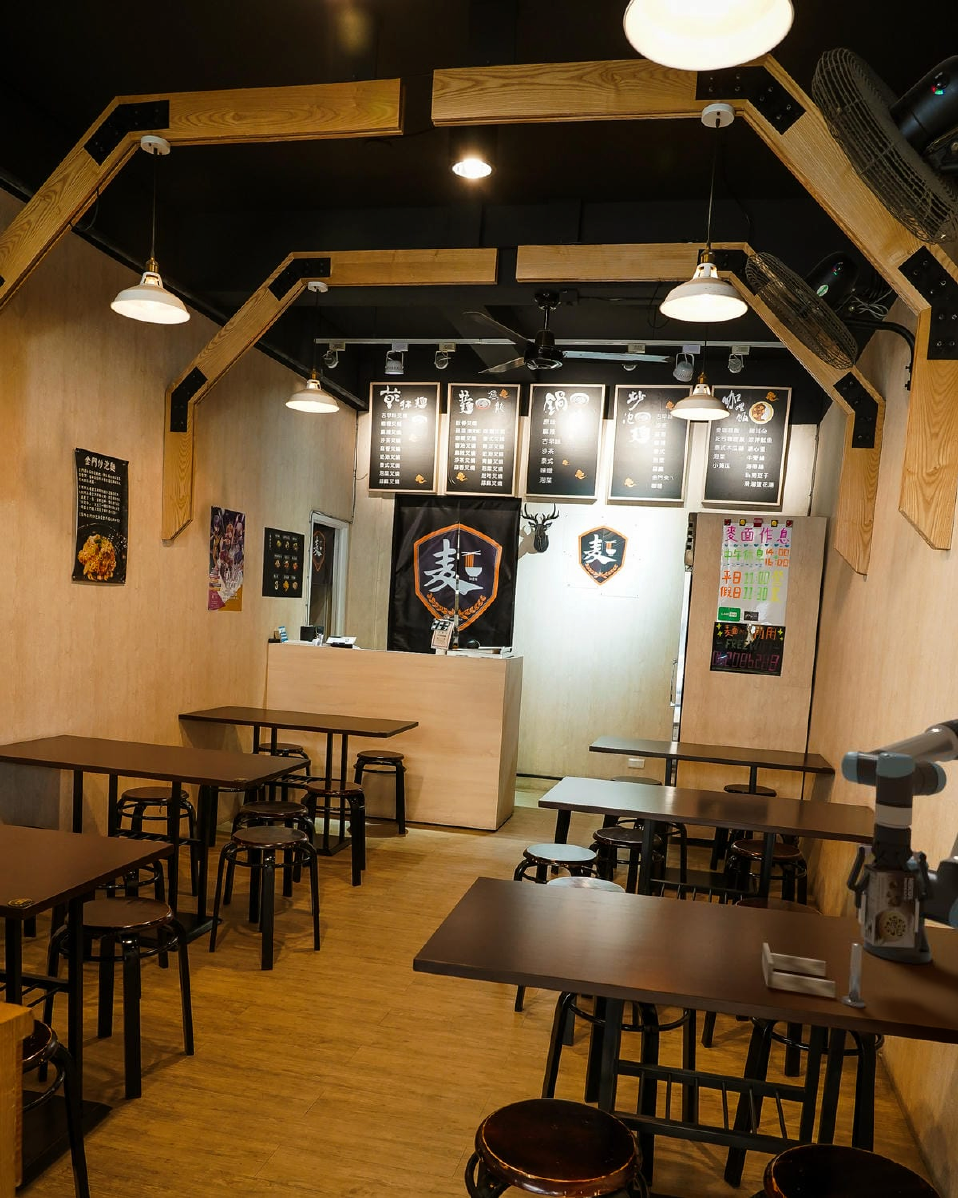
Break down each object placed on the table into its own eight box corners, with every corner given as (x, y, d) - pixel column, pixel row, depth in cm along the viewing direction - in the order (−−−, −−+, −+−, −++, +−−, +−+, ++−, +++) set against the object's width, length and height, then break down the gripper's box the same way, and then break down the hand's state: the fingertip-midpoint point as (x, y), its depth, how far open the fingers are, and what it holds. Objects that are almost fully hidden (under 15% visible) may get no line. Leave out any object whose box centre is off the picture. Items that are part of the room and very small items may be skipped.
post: (862, 1001, 186) (866, 943, 187) (867, 1009, 182) (870, 949, 182) (840, 997, 187) (844, 939, 188) (844, 1005, 183) (847, 946, 183)
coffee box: (899, 938, 199) (903, 865, 199) (914, 948, 192) (918, 873, 193) (859, 936, 198) (863, 862, 199) (873, 946, 192) (877, 870, 192)
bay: (824, 975, 200) (825, 952, 201) (834, 997, 187) (835, 973, 187) (761, 965, 204) (763, 942, 204) (767, 986, 190) (768, 963, 190)
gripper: (944, 827, 197) (939, 928, 196) (835, 815, 202) (830, 914, 202) (954, 834, 190) (949, 939, 189) (840, 821, 195) (835, 924, 194)
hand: (887, 926), depth 195 cm, fingers closed on coffee box, 10 cm apart
